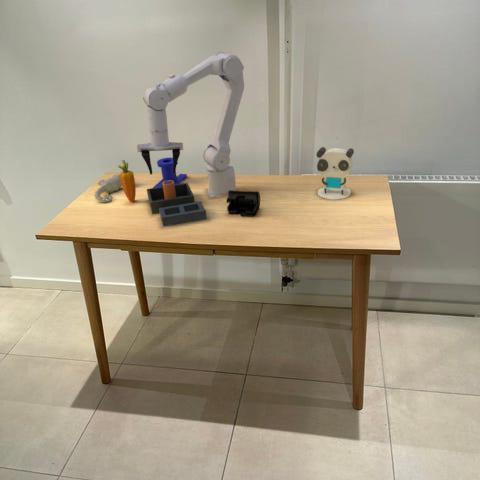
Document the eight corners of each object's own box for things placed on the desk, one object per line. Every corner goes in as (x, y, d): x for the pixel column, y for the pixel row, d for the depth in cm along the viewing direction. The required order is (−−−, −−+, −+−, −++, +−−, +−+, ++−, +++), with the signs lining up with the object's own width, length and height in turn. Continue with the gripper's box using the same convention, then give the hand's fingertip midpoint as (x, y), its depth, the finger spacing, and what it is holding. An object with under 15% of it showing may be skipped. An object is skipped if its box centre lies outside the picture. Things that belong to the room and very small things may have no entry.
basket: (189, 195, 169) (187, 182, 166) (195, 208, 159) (193, 195, 157) (148, 201, 167) (146, 189, 164) (152, 215, 157) (150, 202, 154)
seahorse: (118, 201, 166) (139, 173, 179) (87, 190, 165) (110, 162, 179) (117, 212, 169) (138, 184, 183) (87, 202, 169) (109, 174, 182)
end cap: (260, 207, 157) (260, 188, 152) (256, 217, 151) (255, 197, 147) (232, 206, 159) (230, 187, 155) (226, 215, 153) (224, 195, 149)
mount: (169, 176, 186) (166, 153, 180) (187, 177, 184) (184, 154, 178) (153, 190, 174) (149, 167, 169) (171, 192, 172) (168, 168, 167)
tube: (176, 200, 165) (173, 179, 160) (178, 204, 161) (174, 183, 157) (164, 202, 164) (161, 181, 159) (166, 206, 161) (162, 185, 156)
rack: (160, 217, 155) (158, 208, 153) (202, 211, 157) (201, 201, 155) (163, 227, 149) (161, 217, 147) (206, 220, 151) (205, 210, 149)
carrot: (136, 206, 164) (127, 163, 155) (123, 206, 165) (113, 163, 156) (141, 200, 168) (133, 158, 159) (128, 200, 169) (119, 158, 160)
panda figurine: (312, 197, 161) (313, 153, 152) (320, 185, 169) (322, 142, 160) (347, 201, 157) (350, 155, 148) (353, 188, 165) (357, 144, 156)
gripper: (134, 134, 144) (140, 177, 152) (182, 132, 146) (185, 175, 154) (135, 128, 150) (141, 170, 158) (181, 126, 151) (184, 168, 159)
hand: (162, 172), depth 156 cm, fingers open, 7 cm apart
